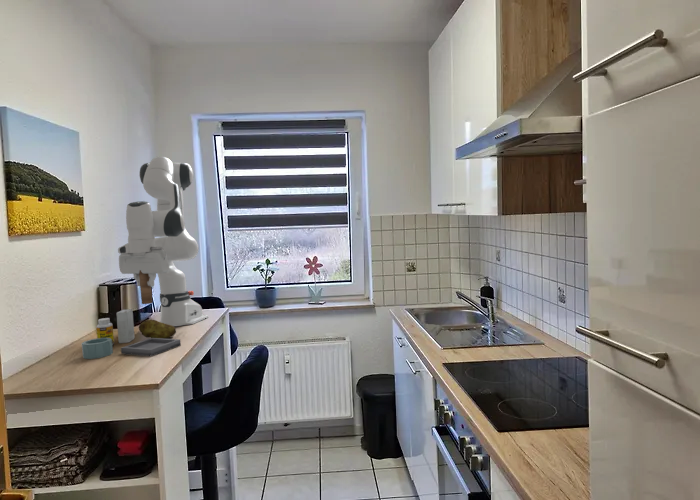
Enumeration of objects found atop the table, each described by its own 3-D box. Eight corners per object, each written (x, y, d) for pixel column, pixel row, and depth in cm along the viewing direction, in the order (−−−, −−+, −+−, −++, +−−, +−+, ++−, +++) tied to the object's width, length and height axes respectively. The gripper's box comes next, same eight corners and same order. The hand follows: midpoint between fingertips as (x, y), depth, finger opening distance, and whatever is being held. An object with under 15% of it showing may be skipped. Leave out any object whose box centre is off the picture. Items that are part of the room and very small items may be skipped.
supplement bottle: (99, 348, 184) (96, 321, 183) (97, 345, 188) (94, 319, 188) (115, 345, 187) (112, 318, 186) (113, 342, 191) (110, 316, 191)
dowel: (147, 302, 178) (144, 269, 177) (154, 302, 177) (151, 269, 176) (139, 303, 175) (136, 270, 174) (147, 304, 173) (143, 270, 172)
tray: (152, 343, 186) (151, 337, 186) (180, 345, 180) (180, 339, 180) (121, 353, 173) (120, 347, 173) (151, 356, 168) (150, 349, 168)
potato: (172, 340, 189) (170, 319, 189) (137, 343, 188) (135, 322, 188) (177, 335, 198) (176, 315, 197) (144, 338, 197) (143, 318, 196)
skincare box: (123, 339, 196) (121, 309, 195) (135, 338, 196) (132, 308, 195) (118, 343, 189) (115, 312, 189) (130, 342, 190) (127, 311, 189)
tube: (100, 350, 180) (98, 337, 180) (118, 352, 176) (117, 338, 176) (77, 357, 172) (75, 343, 171) (95, 359, 168) (94, 345, 167)
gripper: (171, 245, 173) (174, 284, 174) (128, 247, 181) (132, 284, 182) (157, 247, 167) (161, 287, 168) (114, 248, 176) (117, 287, 177)
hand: (145, 286), depth 175 cm, fingers closed on dowel, 4 cm apart
